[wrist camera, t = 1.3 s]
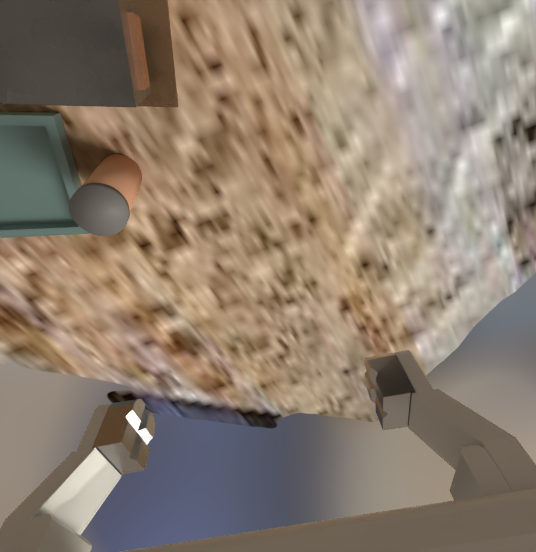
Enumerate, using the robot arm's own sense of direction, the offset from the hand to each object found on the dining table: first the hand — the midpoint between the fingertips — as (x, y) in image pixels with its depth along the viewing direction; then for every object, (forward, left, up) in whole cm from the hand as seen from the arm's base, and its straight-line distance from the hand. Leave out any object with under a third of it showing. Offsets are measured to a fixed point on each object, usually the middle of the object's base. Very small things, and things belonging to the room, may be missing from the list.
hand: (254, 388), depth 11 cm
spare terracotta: (-11, -3, -37) cm, 38 cm away
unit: (-9, +10, -37) cm, 39 cm away
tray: (-23, -3, -37) cm, 43 cm away
